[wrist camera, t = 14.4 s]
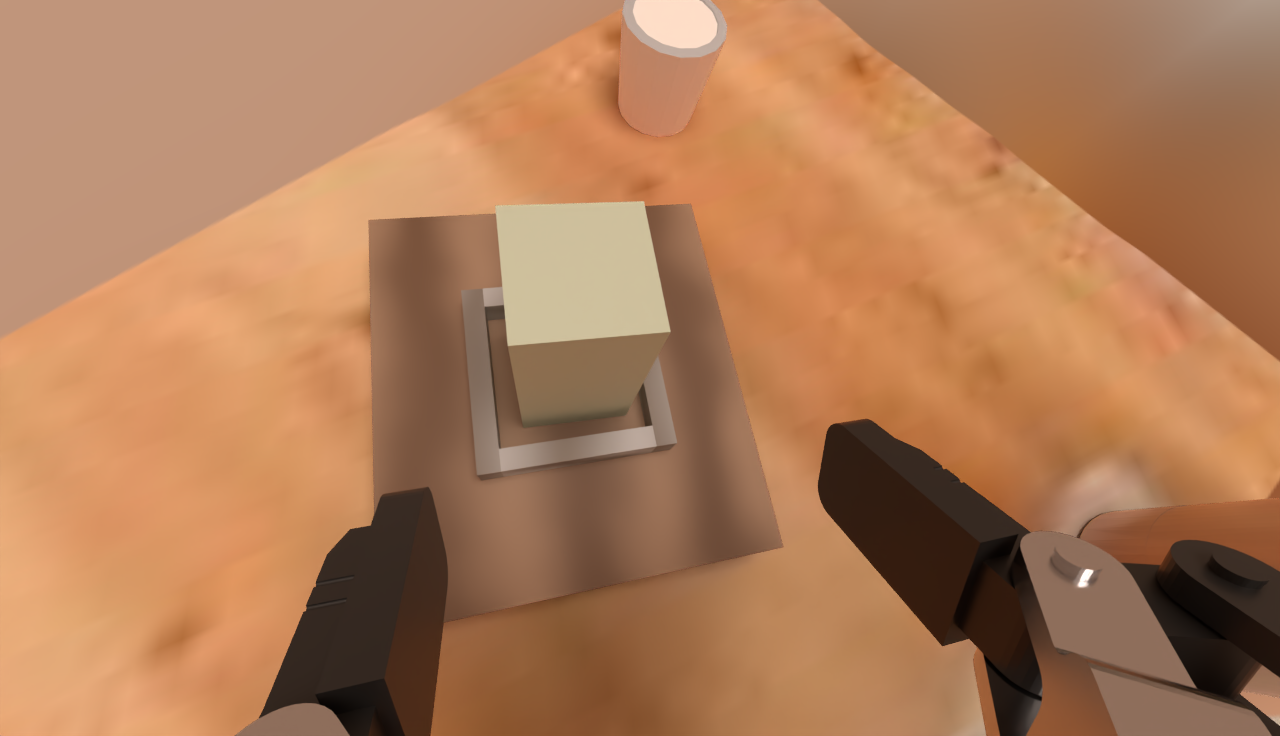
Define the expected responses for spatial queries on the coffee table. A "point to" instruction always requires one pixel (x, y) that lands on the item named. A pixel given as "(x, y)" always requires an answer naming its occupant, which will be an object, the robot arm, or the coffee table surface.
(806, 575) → the coffee table surface
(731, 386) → the walnut plinth
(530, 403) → the sage block
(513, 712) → the coffee table surface
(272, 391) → the coffee table surface
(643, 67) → the pale pink cylinder
